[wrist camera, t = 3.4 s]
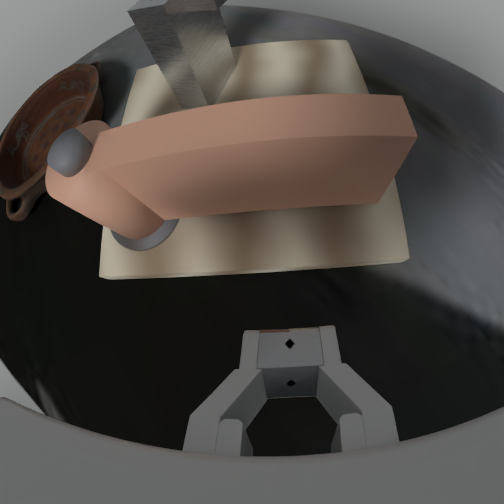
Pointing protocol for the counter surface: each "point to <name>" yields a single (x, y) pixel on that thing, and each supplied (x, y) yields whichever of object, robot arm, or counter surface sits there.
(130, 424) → the counter surface
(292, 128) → the link
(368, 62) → the counter surface
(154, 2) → the block
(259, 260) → the base board
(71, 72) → the dish
